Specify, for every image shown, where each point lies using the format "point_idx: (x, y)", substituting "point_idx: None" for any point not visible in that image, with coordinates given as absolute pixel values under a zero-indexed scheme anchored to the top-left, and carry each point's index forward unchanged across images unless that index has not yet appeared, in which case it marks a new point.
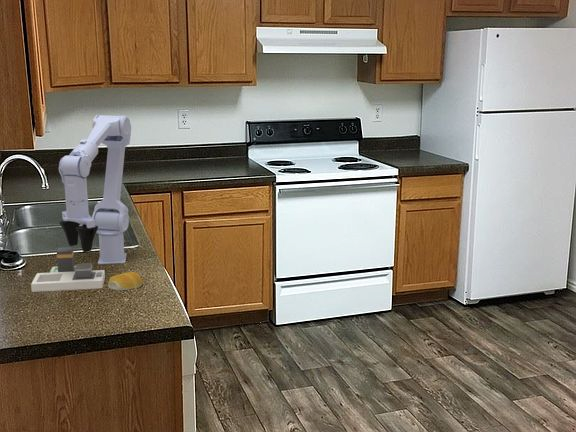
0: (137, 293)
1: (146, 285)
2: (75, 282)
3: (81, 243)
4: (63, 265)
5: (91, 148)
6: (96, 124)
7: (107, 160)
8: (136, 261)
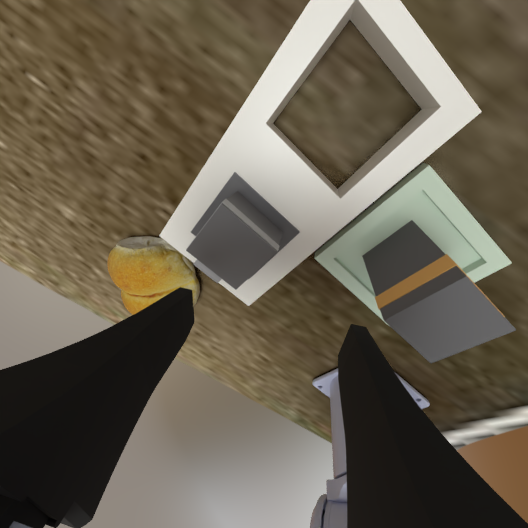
0: (97, 256)
1: None
2: (205, 164)
3: (150, 318)
4: (402, 253)
5: None
6: None
7: None
8: (304, 397)
